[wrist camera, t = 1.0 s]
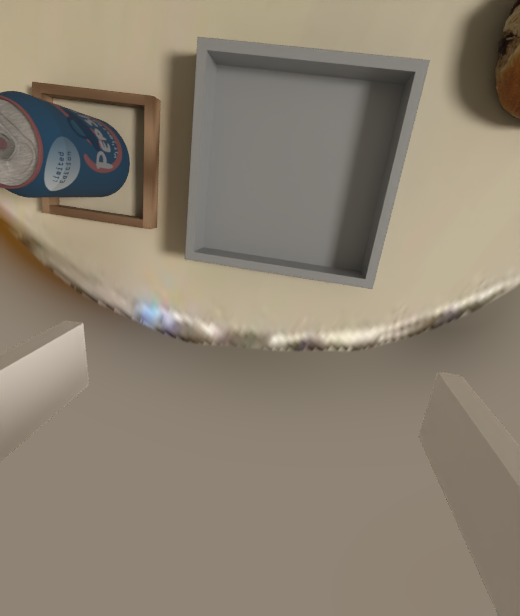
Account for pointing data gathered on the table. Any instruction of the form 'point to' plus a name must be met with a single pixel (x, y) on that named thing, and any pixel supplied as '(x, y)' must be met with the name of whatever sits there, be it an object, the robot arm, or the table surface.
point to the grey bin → (297, 157)
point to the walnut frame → (150, 152)
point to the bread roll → (510, 64)
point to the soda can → (57, 150)
